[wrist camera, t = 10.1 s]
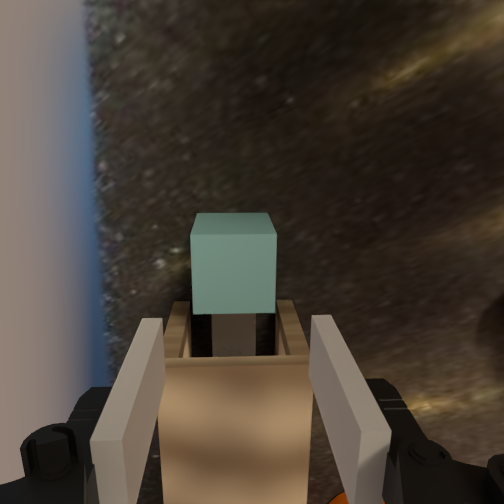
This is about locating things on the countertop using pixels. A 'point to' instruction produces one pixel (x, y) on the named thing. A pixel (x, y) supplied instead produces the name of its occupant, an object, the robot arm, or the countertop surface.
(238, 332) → the hammer
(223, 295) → the block
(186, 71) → the countertop surface
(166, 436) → the tunnel
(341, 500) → the shaker bottle
